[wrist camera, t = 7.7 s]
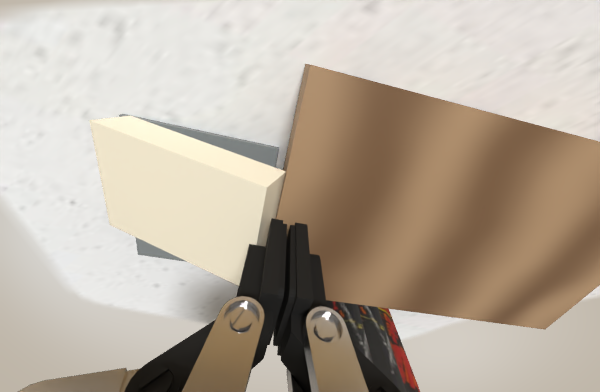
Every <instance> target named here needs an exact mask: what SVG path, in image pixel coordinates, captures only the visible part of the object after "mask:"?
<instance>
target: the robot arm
mask: <svg viewBox="0 0 600 392" xmlns="http://www.w3.org/2000/svg"><path fill="white" fill-rule="evenodd" d="M273 331H274V340H273V345H274V346H278V354H277V355H280V356H281V361H282V362H283V363H284V365H285V366H286V367H287V381H288V391H289V392H400V390H399V389H398V388H397V387H396V386H395V385H394V384H393V383H392V382H391V381H390V380H389V379H388V378H387V377H386V376H385V375H384V374H383V373H382V372H381V371H380V370H379V369H378V368H377V367H376V366H375V365H374V364H373V363H372V362H371V361H370V360H369V359H368V358H367V357H366V356H365V355H364V354H363V353H362V352H361V351H360V350H359V349H358V348H357V347H356V346H355V345H354V344H353V343H352V341H351V338H350V335H349V332H348V330H347V327H346V324H345V322H344V320H343V318H342V317H341V316H340V315H339V314H338V313H337V312H336V311H334V310H333V309H330V308H328V307H327V303H326V296H325V289H324V281H323V274H322V266H321V259H320V256H319V255H315V254H310V250H309V238H308V226H307V224H302V223H295V225H290V228H289V231H288V235H287V224H283V220H279V219H273V218H271V222H270V227H269V232H268V237H267V242H266V246H259V245H252V244H249V247H248V251H247V255H246V260H245V264H244V268H243V272H242V276H241V280H240V284H239V288H238V292H237V296H236V297H235V298H233V299H231V300H229V301H228V302H227V303H225V304H224V306H223V307H222V309H221V310H220V312H219V314H218V317H217V319H216V320H215V321H213V322H212V323H210V324H208V325H207V326H205V327H204V328H202V329H201V330H199V331H198V332H196V333H194V334H193V335H191V336H190V337H188V338H187V339H185V340H183V341H182V342H180V343H179V344H177V345H175V346H174V347H172V348H171V349H169V350H167V351H166V352H164V353H163V354H161V355H160V356H158V357H157V358H155V359H153V360H152V361H150V362H149V363H147V364H146V365H144V366H143V367H142V368H141V369H135V370H129V371H127V369H126V368H121V369H115V370H109V371H102V372H96V373H89V374H83V375H76V376H69V377H63V378H56V379H50V380H44V381H40V382H37V383H34V384H31V385H29V386H27V387H25V388H23V389H22V390H20V391H18V392H245V391H246V388H247V384H248V380H249V377H250V373H251V369H252V368H253V367H255V366H256V365H257V364H258V363H259V362H260V361H261V360H262V359H263V358H264V355H265V352H266V348H267V345H269V344H270V341H271V338H272V334H273Z"/></svg>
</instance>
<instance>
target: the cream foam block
mask: <svg viewBox="0 0 600 392" xmlns="http://www.w3.org/2000/svg"><path fill="white" fill-rule="evenodd" d="M90 126H91V131H92V136H93V141H94V146H95V151H96V156H97V161H98V166H99V172H100V177H101V182H102V187H103V192H104V197H105V202H106V207H107V212H108V217H109V223H110V225H111V226H113V227H115V228H118V229H120V230H122V231H124V232H126V233H128V234H130V235H132V236H134V237H136V238H139V239H141V240H143V241H145V242H147V243H149V244H151V245H153V246H155V247H158V248H160V249H162V250H164V251H166V252H168V253H170V254H172V255H174V256H176V257H179V258H181V259H183V260H185V261H187V262H189V263H191V264H193V265H195V266H198V267H200V268H202V269H204V270H206V271H208V272H210V273H212V274H214V275H217V276H219V277H221V278H223V279H225V280H227V281H229V282H231V283H233V284H235V285H238V286H239V284H240V280H241V276H242V272H243V268H244V264H245V260H246V255H247V251H248V247H249V244H252V245H259V246H266V242H267V237H268V232H269V227H270V222H271V218H273V219H276V215H277V211H278V206H279V201H280V197H281V192H282V188H283V183H284V179H285V174H286V171H283V170H280V169H278V168H275V167H272V166H269V165H267V164H264V163H261V162H258V161H255V160H253V159H250V158H247V157H244V156H242V155H239V154H236V153H233V152H230V151H228V150H225V149H222V148H219V147H216V146H214V145H211V144H208V143H205V142H203V141H200V140H197V139H194V138H191V137H189V136H186V135H183V134H180V133H178V132H175V131H172V130H169V129H166V128H164V127H161V126H158V125H155V124H153V123H150V122H147V121H144V120H141V119H139V118H136V117H133V116H122V117H114V118H105V119H96V120H90Z"/></svg>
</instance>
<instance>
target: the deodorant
mask: <svg viewBox="0 0 600 392" xmlns="http://www.w3.org/2000/svg"><path fill="white" fill-rule="evenodd" d="M326 303H327V307H328V308H330V309H333V310H334V311H336V312H337V313H338V314H339V315H340V316H341V317H342V318H343V320H344V322H345V324H346V327H347V330H348V332H349V335H350V338H351V341H352V343H353V344H354V345H355V346H356V347H357V348H358V349H359V350H360V351H361V352H362V353H363V354H364V355H365V356H366V357H367V358H368V359H369V360H370V361H371V362H372V363H373V364H374V365H375V366H376V367H377V368H378V369H379V370H380V371H381V372H382V373H383V374H384V375H385V376H386V377H387V378H388V379H389V380H390V381H391V382H392V383H393V384H394V385H395V386H396V387H397V388H398V389H399V390H400V392H420V390H419V387H418V385H417V382H416V380H415V377H414V374H413V372H412V369H411V367H410V364H409V361H408V359H407V356H406V353H405V351H404V348H403V346H402V343H401V340H400V338H399V335H398V332H397V330H396V327H395V325H394V322H393V319H392V317H391V314H390V312H389V309H388V308H381V307H374V306H366V305H359V304H351V303H344V302H336V301H329V300H326Z"/></svg>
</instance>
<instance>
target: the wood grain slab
mask: <svg viewBox="0 0 600 392" xmlns="http://www.w3.org/2000/svg"><path fill="white" fill-rule="evenodd" d="M283 171H286V174H285V179H284V183H283V188H282V192H281V197H280V201H279V206H278V211H277V215H276V219H279V220H283V224H287V235H288V231H289V228H290V225H295V223H302V224H307V226H308V238H309V250H310V254H315V255H319V256H320V259H321V266H322V274H323V281H324V289H325V296H326V300H329V301H336V302H344V303H351V304H359V305H366V306H374V307H381V308H389V309H396V310H404V311H411V312H419V313H426V314H434V315H441V316H448V317H456V318H463V319H471V320H478V321H486V322H493V323H501V324H508V325H516V326H523V327H531V328H538V329H546V328H547V327H548V326H550V325H551V324H552V323H553V322H555V321H556V320H557V319H558V318H559V317H561V316H562V315H563V314H564V313H566V312H567V311H568V310H569V309H571V308H572V307H573V306H574V305H576V304H577V303H578V302H579V301H581V300H582V299H583V298H584V297H585V296H587V295H588V294H589V293H590V292H592V291H593V290H594V289H595V288H597V287H598V286H599V285H600V142H598V141H595V140H591V139H587V138H583V137H580V136H576V135H572V134H568V133H565V132H561V131H557V130H553V129H550V128H546V127H542V126H538V125H535V124H531V123H527V122H523V121H520V120H516V119H512V118H508V117H505V116H501V115H497V114H493V113H490V112H486V111H482V110H478V109H475V108H471V107H467V106H463V105H460V104H456V103H452V102H448V101H445V100H441V99H437V98H433V97H430V96H426V95H422V94H418V93H415V92H411V91H407V90H403V89H400V88H396V87H392V86H388V85H385V84H381V83H377V82H373V81H370V80H366V79H362V78H358V77H355V76H351V75H347V74H343V73H339V72H336V71H332V70H328V69H324V68H321V67H317V66H313V65H309V64H305V69H304V74H303V79H302V83H301V88H300V93H299V97H298V102H297V107H296V111H295V116H294V121H293V126H292V130H291V135H290V140H289V144H288V149H287V154H286V158H285V163H284V168H283Z"/></svg>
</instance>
